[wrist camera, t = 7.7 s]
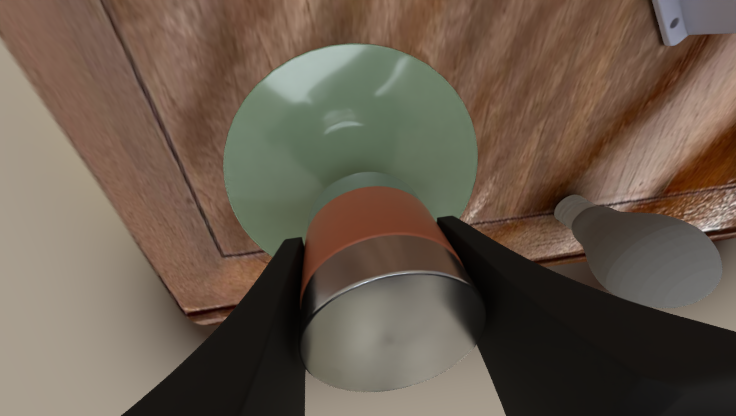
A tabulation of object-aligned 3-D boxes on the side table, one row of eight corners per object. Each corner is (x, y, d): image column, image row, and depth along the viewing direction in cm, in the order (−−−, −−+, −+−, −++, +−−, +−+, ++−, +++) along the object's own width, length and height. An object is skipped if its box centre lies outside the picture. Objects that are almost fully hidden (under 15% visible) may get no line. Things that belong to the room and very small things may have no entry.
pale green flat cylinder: (482, 149, 20) (521, 174, 16) (357, 263, 23) (364, 306, 20) (340, -22, 14) (347, -49, 10) (203, 170, 17) (170, 205, 14)
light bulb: (526, 195, 22) (652, 286, 14) (598, 161, 22) (777, 235, 13) (535, 243, 25) (642, 341, 17) (598, 214, 25) (743, 303, 16)
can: (425, 162, 11) (507, 254, 6) (421, 259, 13) (475, 375, 9) (295, 178, 10) (272, 291, 5) (317, 276, 13) (315, 407, 8)
